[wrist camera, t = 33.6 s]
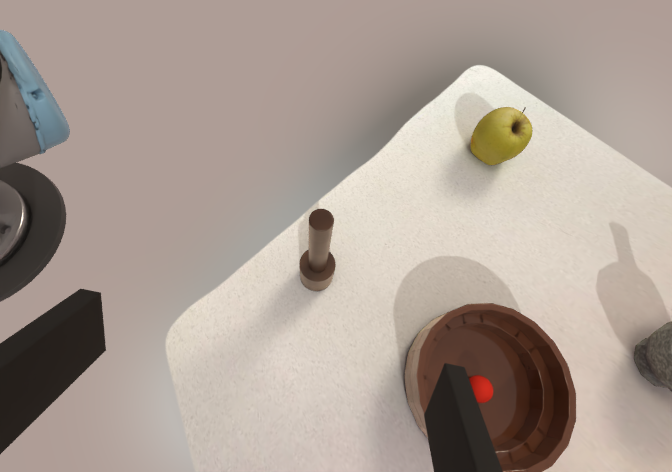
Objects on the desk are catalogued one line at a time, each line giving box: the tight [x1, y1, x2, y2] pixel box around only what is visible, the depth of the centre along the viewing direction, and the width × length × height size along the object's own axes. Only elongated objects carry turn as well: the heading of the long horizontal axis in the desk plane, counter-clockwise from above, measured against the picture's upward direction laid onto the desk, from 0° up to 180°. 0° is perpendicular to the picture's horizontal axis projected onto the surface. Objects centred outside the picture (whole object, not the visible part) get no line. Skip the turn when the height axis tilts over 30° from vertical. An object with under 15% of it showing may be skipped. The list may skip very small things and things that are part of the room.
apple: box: [471, 107, 532, 165], centre depth 53 cm, size 8×8×10 cm
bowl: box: [404, 303, 576, 472], centre depth 41 cm, size 18×18×6 cm
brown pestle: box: [300, 209, 335, 291], centre depth 39 cm, size 4×4×18 cm
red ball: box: [469, 375, 493, 403], centre depth 41 cm, size 3×3×3 cm
